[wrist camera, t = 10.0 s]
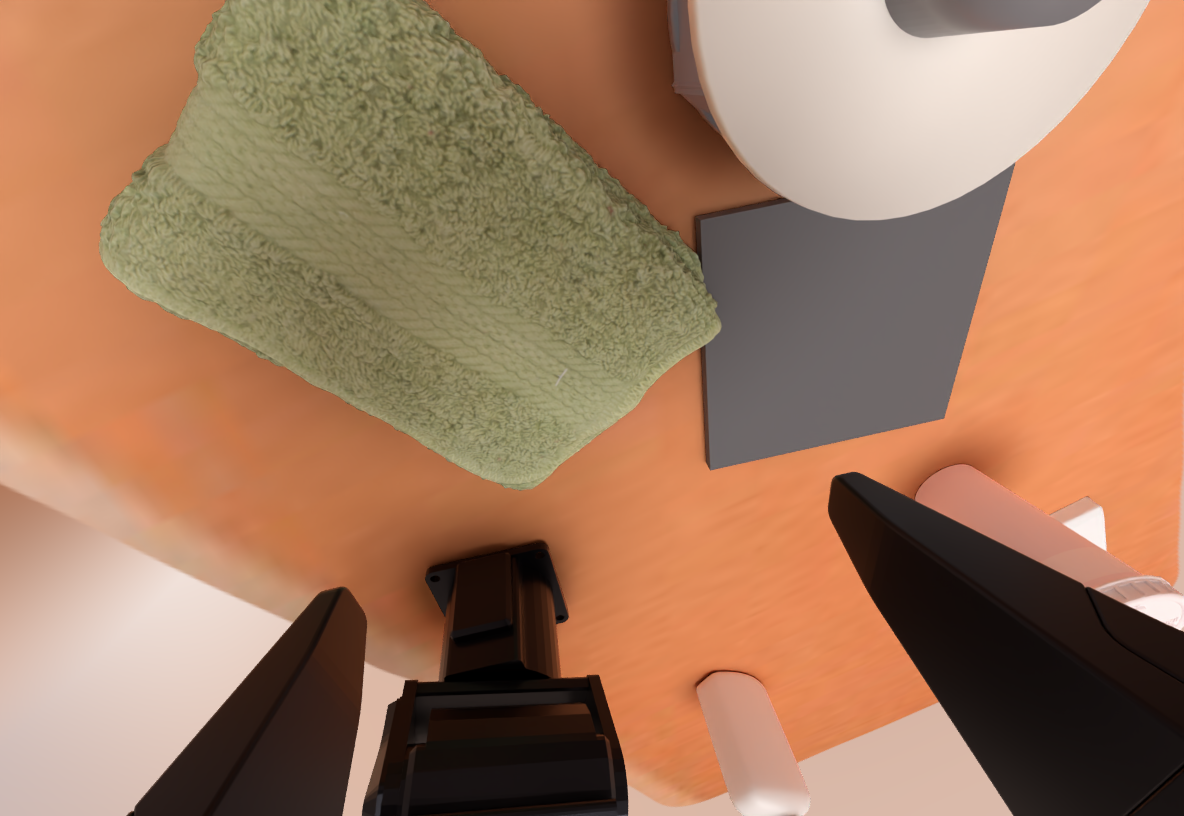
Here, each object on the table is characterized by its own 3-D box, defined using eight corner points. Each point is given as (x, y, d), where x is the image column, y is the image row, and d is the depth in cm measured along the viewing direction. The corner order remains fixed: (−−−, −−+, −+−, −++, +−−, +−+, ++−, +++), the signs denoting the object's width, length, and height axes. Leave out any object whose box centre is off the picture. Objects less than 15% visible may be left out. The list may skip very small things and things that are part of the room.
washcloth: (529, 482, 25) (531, 531, 22) (116, 248, 17) (44, 280, 14) (729, 284, 21) (762, 314, 18) (310, -148, 13) (259, -208, 10)
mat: (935, 411, 26) (943, 418, 25) (706, 462, 25) (710, 470, 25) (1004, 153, 19) (1017, 154, 19) (695, 216, 19) (700, 220, 18)
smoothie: (924, 543, 32) (1168, 812, 20) (871, 502, 29) (1119, 787, 17) (1018, 476, 30) (1354, 734, 18) (971, 425, 27) (1332, 691, 15)
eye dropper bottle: (714, 710, 39) (786, 923, 30) (689, 679, 36) (758, 905, 27) (767, 689, 39) (857, 899, 29) (745, 656, 36) (838, 878, 26)
